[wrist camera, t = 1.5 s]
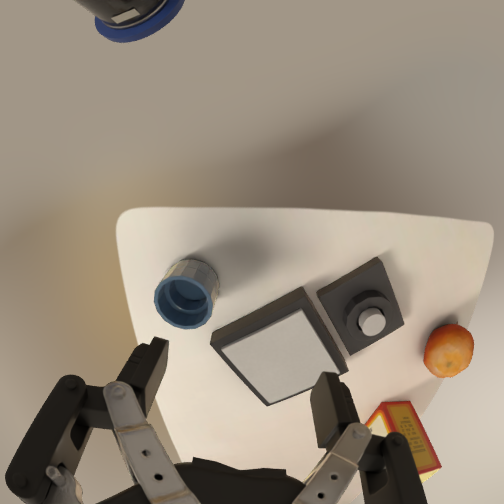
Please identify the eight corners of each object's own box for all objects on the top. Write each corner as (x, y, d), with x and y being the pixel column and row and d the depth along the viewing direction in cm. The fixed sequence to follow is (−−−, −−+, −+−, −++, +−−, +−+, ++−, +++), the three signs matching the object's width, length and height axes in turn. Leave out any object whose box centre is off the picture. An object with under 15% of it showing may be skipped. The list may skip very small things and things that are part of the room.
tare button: (354, 315, 28) (358, 323, 27) (376, 302, 28) (381, 309, 26) (362, 332, 29) (366, 340, 27) (383, 320, 28) (388, 327, 27)
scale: (212, 332, 32) (208, 347, 29) (301, 285, 30) (306, 298, 27) (266, 394, 35) (266, 409, 33) (344, 359, 33) (350, 374, 30)
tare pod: (315, 291, 30) (321, 304, 27) (376, 256, 29) (387, 266, 26) (347, 349, 33) (353, 363, 30) (400, 318, 31) (409, 331, 28)
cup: (158, 273, 30) (142, 293, 25) (199, 247, 29) (188, 264, 24) (188, 313, 31) (178, 337, 27) (229, 291, 30) (224, 314, 26)
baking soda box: (381, 402, 36) (411, 478, 21) (410, 400, 37) (442, 468, 22) (356, 434, 39) (375, 504, 24) (384, 432, 40) (406, 496, 24)
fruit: (464, 352, 32) (466, 387, 26) (421, 349, 36) (417, 384, 30) (475, 310, 29) (483, 343, 23) (430, 307, 34) (429, 340, 27)
